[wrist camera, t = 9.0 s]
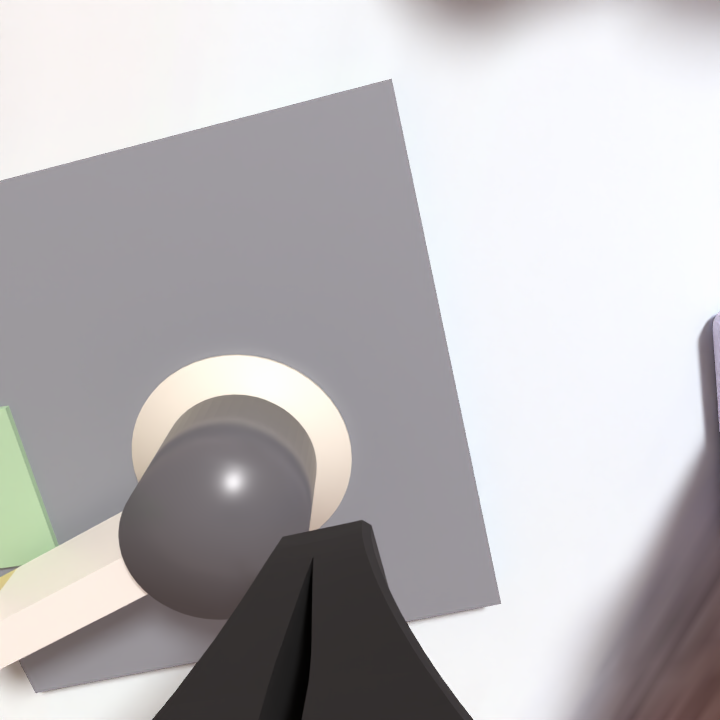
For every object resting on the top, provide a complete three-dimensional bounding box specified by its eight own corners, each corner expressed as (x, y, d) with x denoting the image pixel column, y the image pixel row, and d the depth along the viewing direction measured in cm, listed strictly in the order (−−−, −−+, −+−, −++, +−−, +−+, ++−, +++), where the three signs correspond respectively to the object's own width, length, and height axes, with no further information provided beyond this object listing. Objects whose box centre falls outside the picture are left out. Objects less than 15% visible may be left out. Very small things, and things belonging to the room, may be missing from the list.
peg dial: (262, 366, 18) (238, 427, 15) (345, 489, 20) (341, 572, 16) (-38, 534, 20) (-123, 625, 17) (56, 636, 22) (-5, 740, 18)
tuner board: (390, 80, 17) (392, 78, 16) (495, 583, 23) (502, 607, 21) (-177, 228, 19) (-212, 235, 18) (48, 670, 24) (33, 697, 23)
